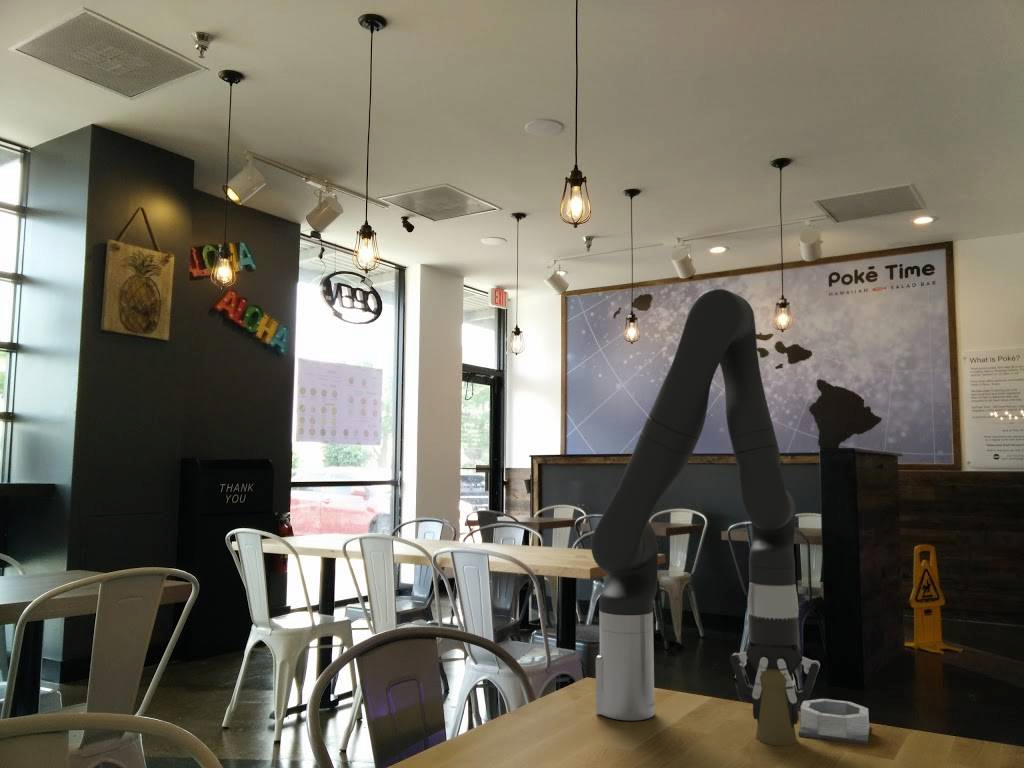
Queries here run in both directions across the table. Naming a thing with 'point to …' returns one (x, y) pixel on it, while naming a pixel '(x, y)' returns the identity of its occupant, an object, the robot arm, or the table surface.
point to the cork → (774, 710)
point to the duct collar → (835, 721)
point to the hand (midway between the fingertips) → (776, 723)
